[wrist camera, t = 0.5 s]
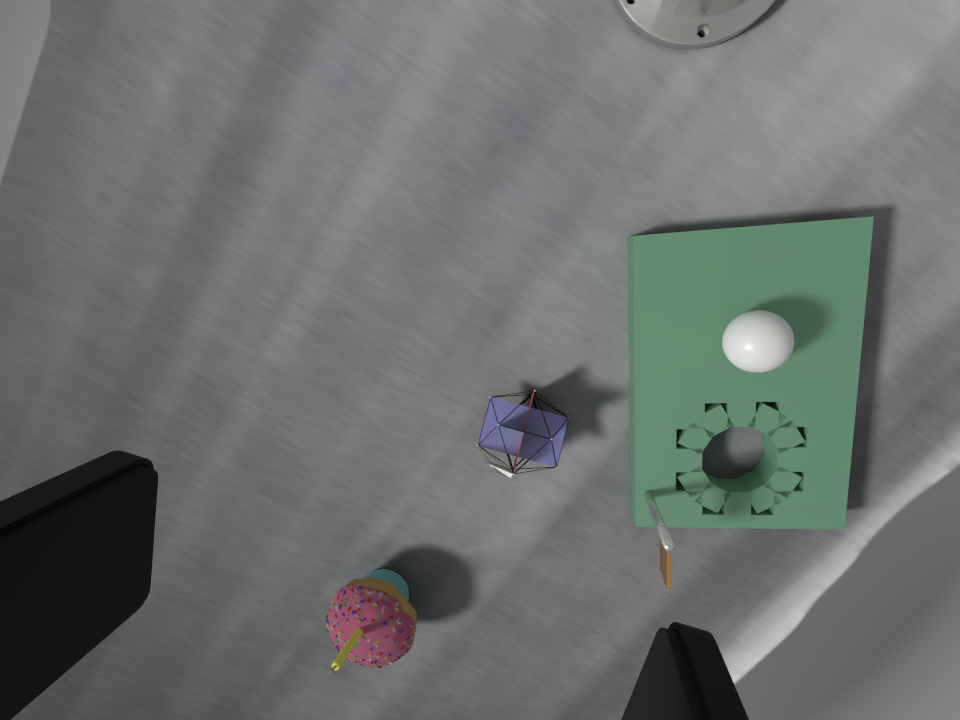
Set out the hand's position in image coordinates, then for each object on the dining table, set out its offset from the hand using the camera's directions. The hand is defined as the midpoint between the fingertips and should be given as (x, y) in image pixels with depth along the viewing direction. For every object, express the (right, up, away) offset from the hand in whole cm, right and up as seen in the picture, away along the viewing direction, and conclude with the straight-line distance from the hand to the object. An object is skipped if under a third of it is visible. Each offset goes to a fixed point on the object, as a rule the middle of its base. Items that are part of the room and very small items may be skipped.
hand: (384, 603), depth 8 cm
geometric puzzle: (+6, -1, +34) cm, 34 cm away
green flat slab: (+22, +3, +30) cm, 38 cm away
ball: (+21, +6, +25) cm, 33 cm away
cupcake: (-8, -19, +40) cm, 45 cm away
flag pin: (+16, -8, +34) cm, 38 cm away
